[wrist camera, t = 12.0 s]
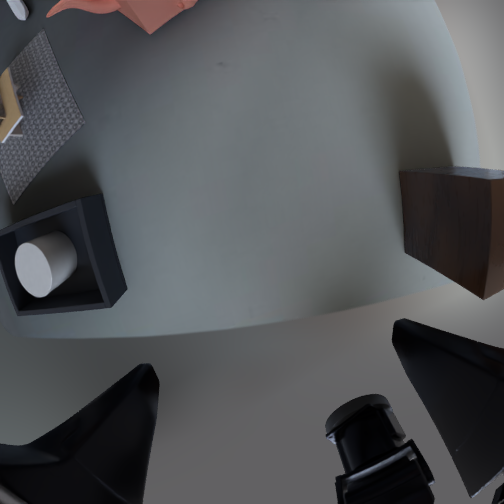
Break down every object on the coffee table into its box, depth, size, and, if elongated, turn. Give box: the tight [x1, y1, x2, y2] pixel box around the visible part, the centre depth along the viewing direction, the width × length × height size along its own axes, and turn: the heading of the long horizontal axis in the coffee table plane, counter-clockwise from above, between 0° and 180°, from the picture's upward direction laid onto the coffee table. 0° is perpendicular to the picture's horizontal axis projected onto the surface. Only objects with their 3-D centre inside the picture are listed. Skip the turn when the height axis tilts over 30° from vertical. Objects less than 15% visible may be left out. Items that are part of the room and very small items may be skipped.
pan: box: [0, 194, 127, 316], centre depth 18 cm, size 12×8×3 cm, turn 99°
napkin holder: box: [0, 67, 25, 144], centre depth 12 cm, size 3×7×7 cm, turn 31°
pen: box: [7, 0, 29, 20], centre depth 9 cm, size 2×14×2 cm, turn 39°
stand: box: [399, 166, 504, 300], centre depth 15 cm, size 7×7×10 cm
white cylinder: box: [15, 231, 77, 297], centre depth 17 cm, size 4×4×4 cm
